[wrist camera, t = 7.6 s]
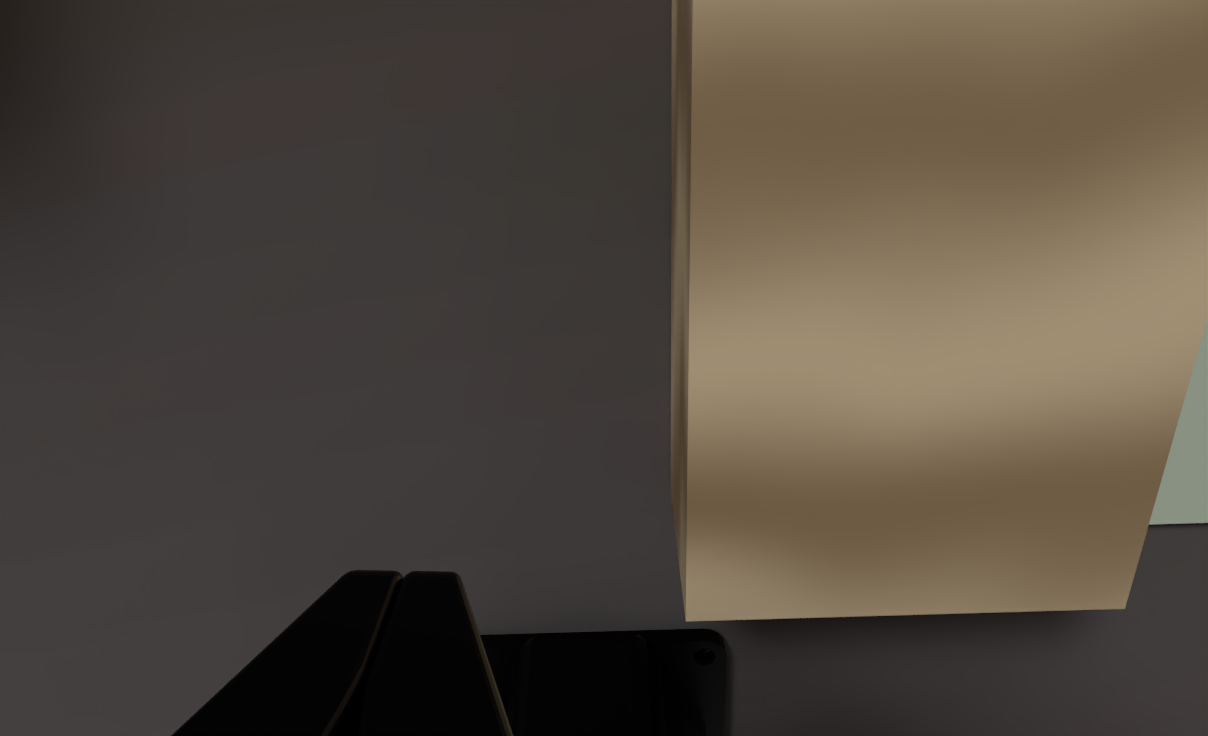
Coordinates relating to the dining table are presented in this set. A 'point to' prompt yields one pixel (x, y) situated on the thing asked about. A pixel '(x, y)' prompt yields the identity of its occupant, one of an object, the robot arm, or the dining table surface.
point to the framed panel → (930, 298)
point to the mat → (1188, 454)
